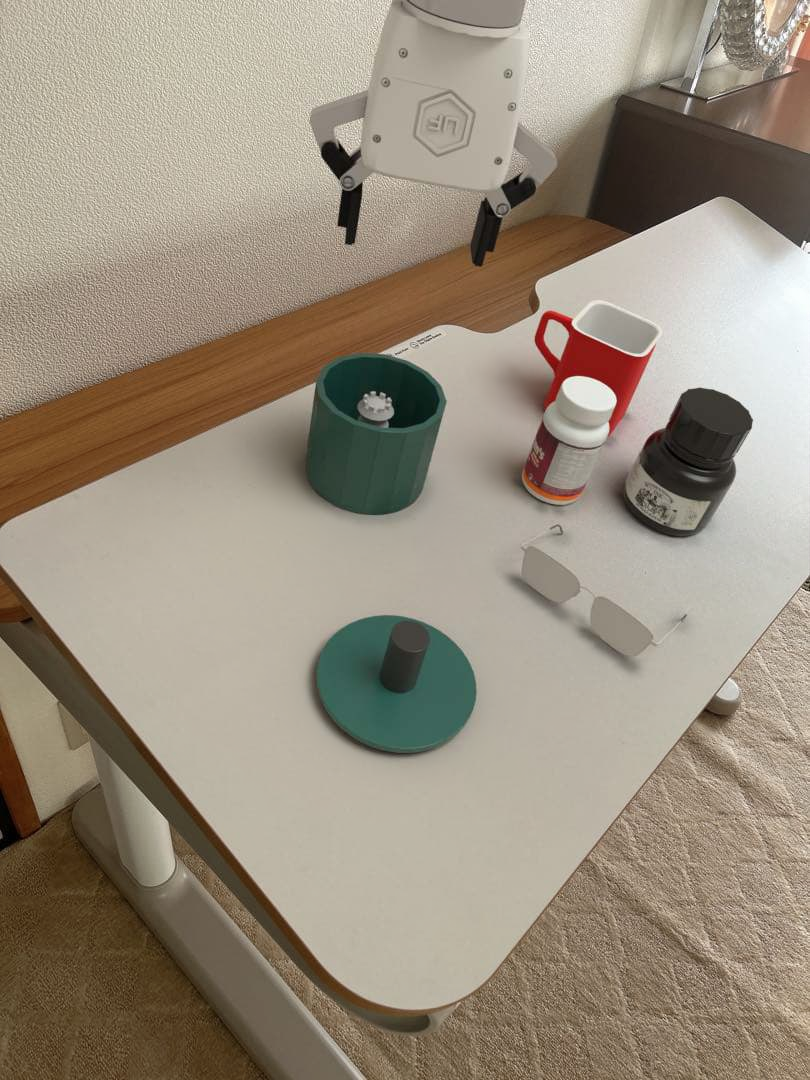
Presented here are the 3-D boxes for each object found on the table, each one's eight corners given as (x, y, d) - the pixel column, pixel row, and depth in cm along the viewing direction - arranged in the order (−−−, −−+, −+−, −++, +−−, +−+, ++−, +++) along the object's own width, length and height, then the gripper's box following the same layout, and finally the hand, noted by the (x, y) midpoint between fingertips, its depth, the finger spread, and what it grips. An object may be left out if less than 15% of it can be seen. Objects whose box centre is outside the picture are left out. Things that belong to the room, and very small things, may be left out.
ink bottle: (600, 492, 87) (646, 394, 79) (652, 463, 92) (700, 368, 84) (677, 554, 83) (734, 457, 75) (728, 520, 88) (786, 426, 80)
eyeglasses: (508, 570, 77) (523, 537, 75) (556, 535, 83) (572, 503, 80) (642, 670, 72) (662, 638, 69) (684, 625, 77) (704, 594, 75)
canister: (280, 471, 81) (290, 386, 74) (353, 419, 88) (368, 338, 82) (378, 533, 78) (398, 450, 71) (445, 474, 85) (469, 394, 78)
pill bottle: (517, 460, 88) (551, 366, 81) (576, 469, 89) (616, 377, 81) (523, 502, 84) (559, 407, 76) (585, 511, 85) (627, 418, 77)
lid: (281, 692, 64) (289, 639, 60) (377, 600, 72) (390, 548, 68) (416, 789, 61) (435, 741, 56) (501, 682, 69) (523, 632, 64)
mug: (630, 410, 99) (667, 328, 91) (605, 445, 93) (642, 361, 86) (535, 365, 102) (563, 282, 94) (505, 396, 96) (533, 310, 89)
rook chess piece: (358, 447, 85) (371, 378, 79) (396, 469, 83) (412, 401, 78) (330, 468, 82) (341, 398, 76) (368, 492, 80) (383, 423, 75)
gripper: (323, -23, 51) (294, 252, 63) (610, 37, 53) (530, 291, 65) (329, -54, 56) (301, 205, 68) (589, 2, 58) (519, 242, 70)
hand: (413, 247), depth 66 cm, fingers open, 9 cm apart
